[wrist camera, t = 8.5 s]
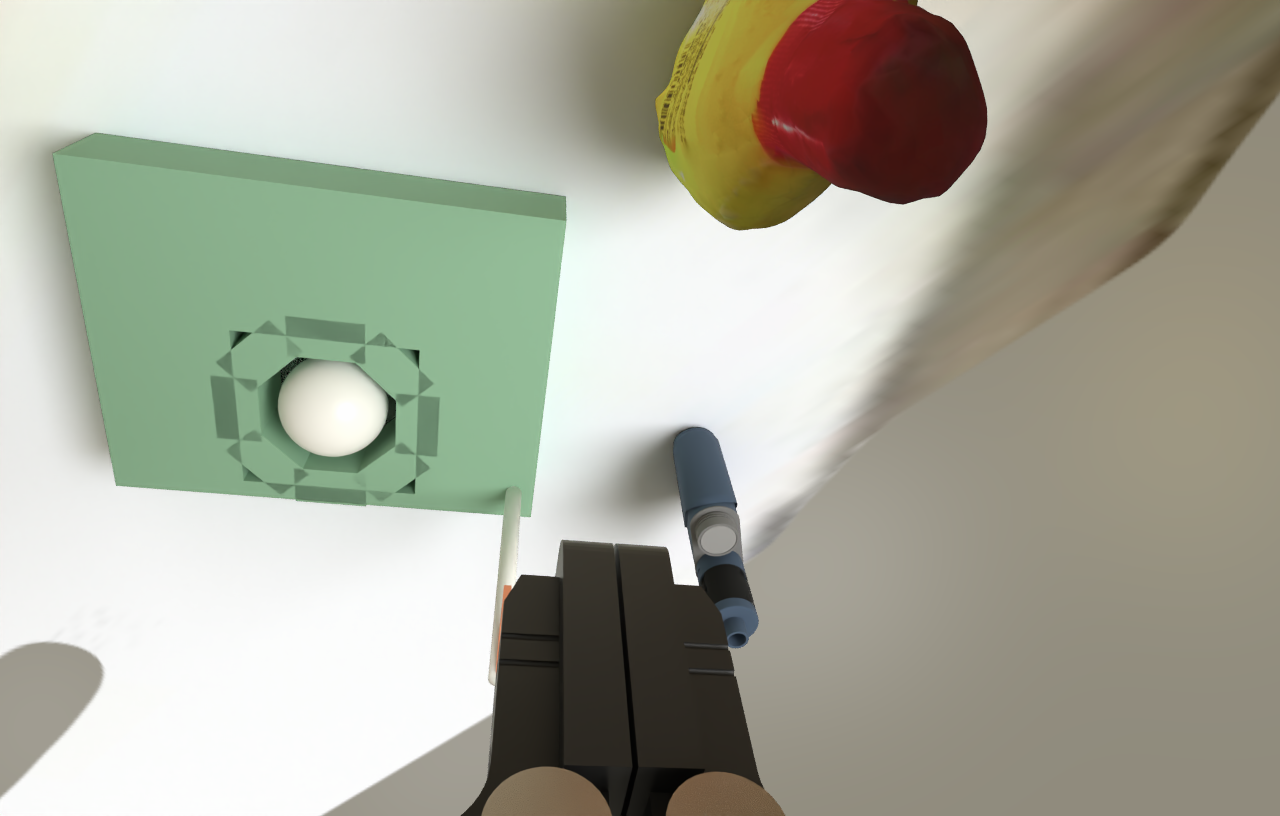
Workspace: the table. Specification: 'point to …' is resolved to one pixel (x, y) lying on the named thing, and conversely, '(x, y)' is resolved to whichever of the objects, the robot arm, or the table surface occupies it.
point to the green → (314, 324)
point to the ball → (331, 407)
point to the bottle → (818, 105)
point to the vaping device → (714, 530)
